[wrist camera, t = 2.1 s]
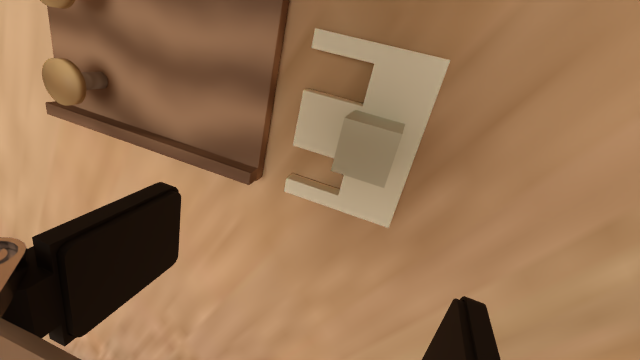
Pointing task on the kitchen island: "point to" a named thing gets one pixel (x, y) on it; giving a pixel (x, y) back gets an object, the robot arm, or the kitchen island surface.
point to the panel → (383, 97)
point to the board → (171, 76)
